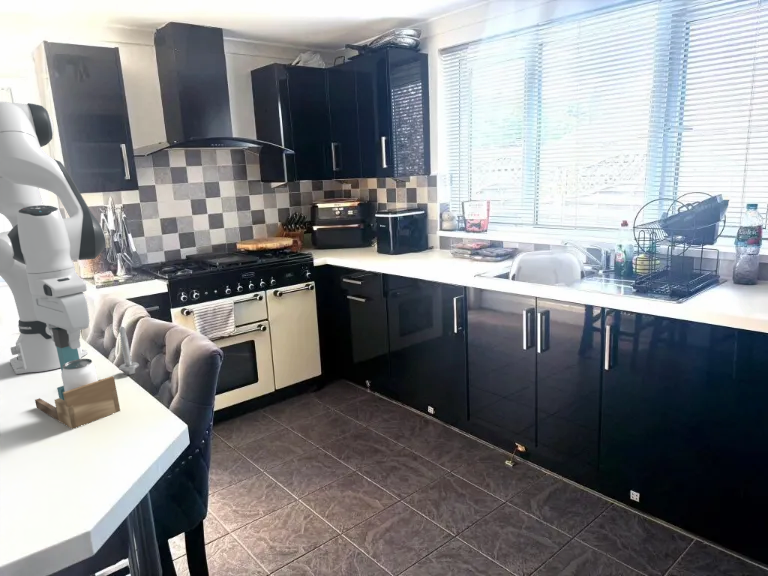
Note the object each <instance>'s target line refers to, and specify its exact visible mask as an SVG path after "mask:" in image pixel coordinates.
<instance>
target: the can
mask: <svg viewBox="0 0 768 576" xmlns="http://www.w3.org/2000/svg"><path fill="white" fill-rule="evenodd" d="M62 368H63V370H62V371H61V380H62V386H64V391H65V392H66V391H69V390H72V389H75V388H78V387H81V386H84V385H87V384H90V383H93V382H96V381H99V379H98V373H97V370H96V365H94V363H93V361H92V359H90V358H81V359H77V360H73V361H70V362H67V363H65V364H64V365H63V366H62Z"/></svg>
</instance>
